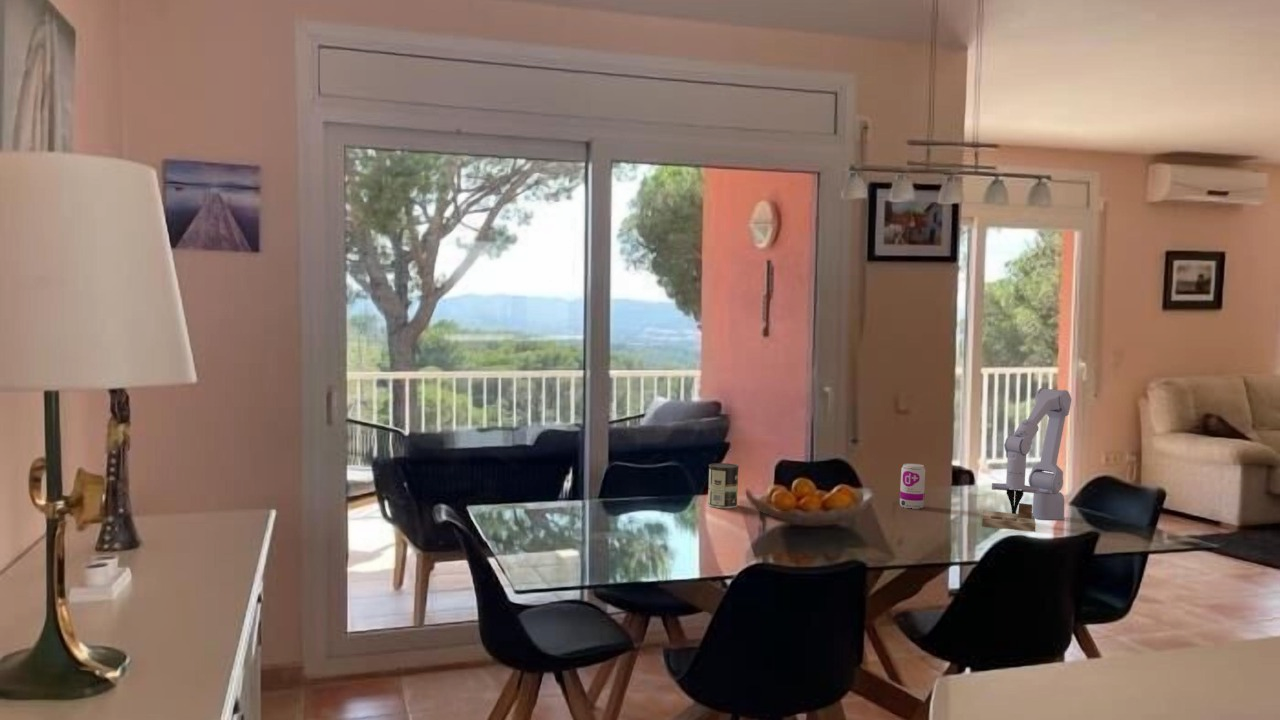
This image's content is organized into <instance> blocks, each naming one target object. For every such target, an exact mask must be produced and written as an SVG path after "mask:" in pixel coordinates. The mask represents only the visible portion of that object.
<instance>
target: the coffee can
mask: <svg viewBox="0 0 1280 720" xmlns="http://www.w3.org/2000/svg"><path fill="white" fill-rule="evenodd" d="M738 483H739V465H737V464H736V463H735V464H734V463H728V462H717V463H716V462H715V463H709V464H708V490H707V491H708V492H707V493H708V494H707V495H708V499H707V506H708V507H710V508H714V509H722V510H723V509H724V510H725V509H726V510H727V509H728V510H729V509H735V508H737V507H738V485H739V484H738Z"/></svg>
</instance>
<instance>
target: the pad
mask: <svg viewBox="0 0 1280 720" xmlns="http://www.w3.org/2000/svg"><path fill="white" fill-rule="evenodd" d="M1018 519H1025V520H1035V521H1036V518H1035V517H1034V515H1032V517H1031V519H1029V518H1020V517H1018Z"/></svg>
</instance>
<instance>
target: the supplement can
mask: <svg viewBox="0 0 1280 720" xmlns="http://www.w3.org/2000/svg"><path fill="white" fill-rule="evenodd" d="M926 471H927V470H926V467H925V465H924V464H921V463H903V465H902V467H901V471H900V486H899V487H900V488H899V489H900V491H899V505H900V507H901V508H903V507H904V508H903V509H907V508H912V509H911V510H920V509H919V508H921V509H923V508H924V507H925V494H926V491H925V489H926V473H927V472H926Z"/></svg>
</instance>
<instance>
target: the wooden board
mask: <svg viewBox="0 0 1280 720" xmlns="http://www.w3.org/2000/svg"><path fill="white" fill-rule="evenodd" d="M981 518H982V519H981V521H982V522H981V525H982V527H987V528H988V527H989V528H997V529H1007V530H1017V531H1026V532H1027V531H1028V532H1036V519H1035V520H1025V519H1018V513H1016V514H1013V513H1012V512H1003V511H993V510H992V511H991V510H982V517H981Z"/></svg>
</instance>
